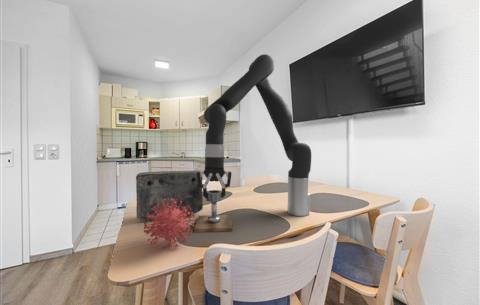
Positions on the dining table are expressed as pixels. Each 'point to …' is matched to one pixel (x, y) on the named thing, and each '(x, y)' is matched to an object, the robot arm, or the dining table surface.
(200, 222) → the board
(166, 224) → the virus model
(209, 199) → the ring
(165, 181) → the concrete block
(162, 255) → the dining table surface
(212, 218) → the post
